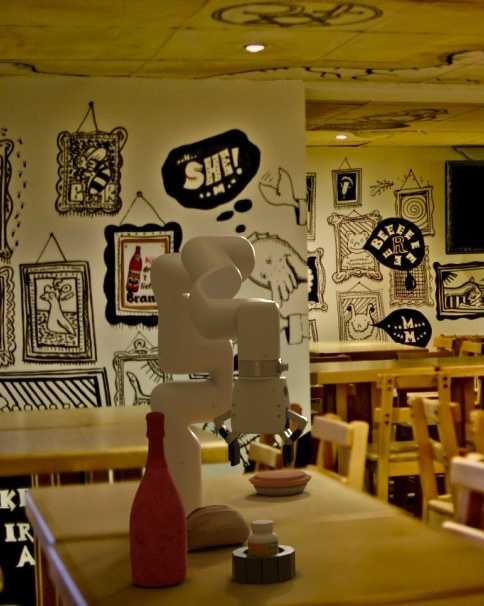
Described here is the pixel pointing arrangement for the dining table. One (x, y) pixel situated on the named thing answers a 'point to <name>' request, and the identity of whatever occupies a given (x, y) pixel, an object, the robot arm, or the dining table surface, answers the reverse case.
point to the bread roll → (215, 527)
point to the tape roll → (263, 566)
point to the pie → (280, 482)
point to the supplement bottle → (262, 539)
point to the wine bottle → (157, 518)
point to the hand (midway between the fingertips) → (261, 465)
